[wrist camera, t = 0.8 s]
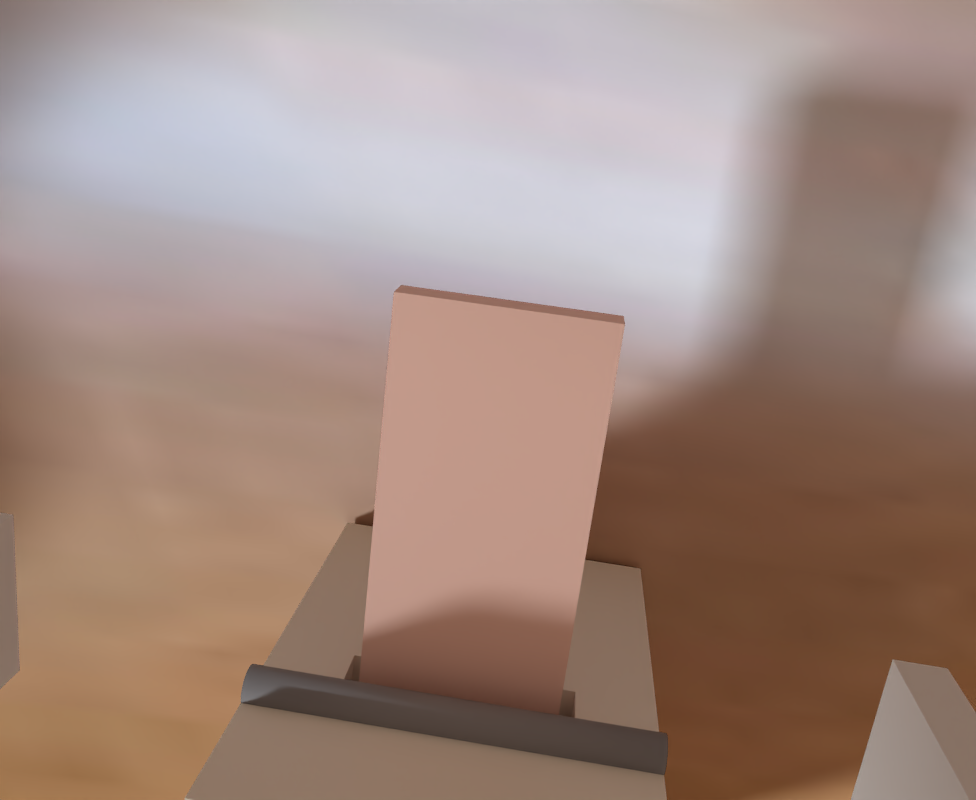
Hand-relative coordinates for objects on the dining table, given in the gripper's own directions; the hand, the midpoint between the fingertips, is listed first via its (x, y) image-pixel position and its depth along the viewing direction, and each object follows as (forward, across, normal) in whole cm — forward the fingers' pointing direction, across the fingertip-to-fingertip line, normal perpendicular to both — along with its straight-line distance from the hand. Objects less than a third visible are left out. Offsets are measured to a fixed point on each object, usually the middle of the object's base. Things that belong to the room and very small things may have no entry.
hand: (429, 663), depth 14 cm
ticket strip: (+12, 0, -9) cm, 15 cm away
